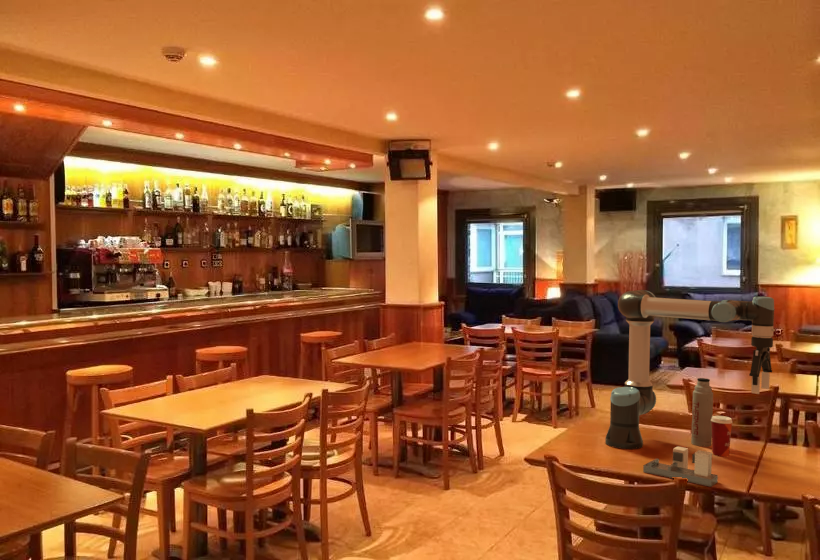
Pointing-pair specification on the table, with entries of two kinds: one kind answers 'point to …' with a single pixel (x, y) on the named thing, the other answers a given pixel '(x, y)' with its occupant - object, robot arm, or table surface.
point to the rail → (694, 476)
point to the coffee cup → (721, 435)
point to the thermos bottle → (702, 413)
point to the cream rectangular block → (681, 456)
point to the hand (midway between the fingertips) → (760, 391)
